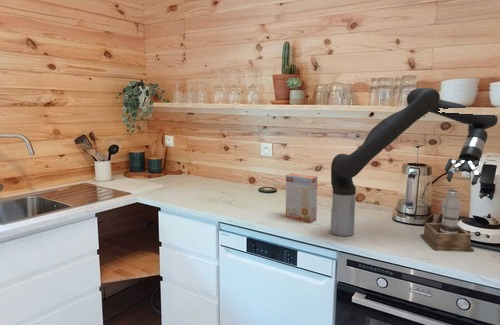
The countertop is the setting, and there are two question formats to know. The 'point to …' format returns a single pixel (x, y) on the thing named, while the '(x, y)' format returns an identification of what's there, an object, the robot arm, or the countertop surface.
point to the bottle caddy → (446, 238)
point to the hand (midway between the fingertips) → (460, 182)
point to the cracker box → (301, 197)
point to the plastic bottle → (450, 212)
